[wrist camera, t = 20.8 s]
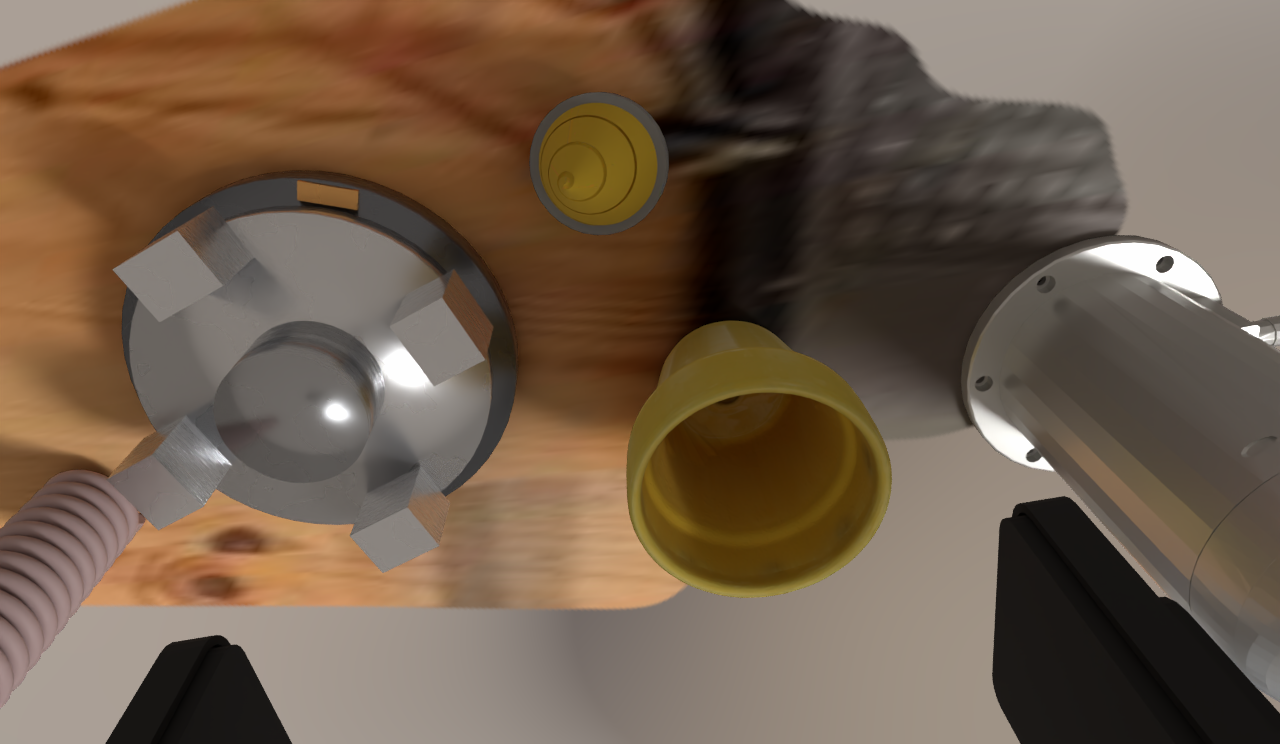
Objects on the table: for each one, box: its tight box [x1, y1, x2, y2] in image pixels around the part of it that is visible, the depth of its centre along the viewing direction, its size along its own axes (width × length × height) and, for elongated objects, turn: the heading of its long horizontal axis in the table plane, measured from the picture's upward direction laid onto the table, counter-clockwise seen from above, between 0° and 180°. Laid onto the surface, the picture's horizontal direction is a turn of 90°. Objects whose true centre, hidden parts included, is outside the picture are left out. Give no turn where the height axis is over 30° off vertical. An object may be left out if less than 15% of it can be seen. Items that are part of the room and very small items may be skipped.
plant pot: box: [627, 321, 892, 598], centre depth 37 cm, size 10×10×10 cm
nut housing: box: [122, 171, 518, 496], centre depth 38 cm, size 17×17×2 cm
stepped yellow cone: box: [529, 92, 669, 235], centre depth 31 cm, size 5×5×10 cm
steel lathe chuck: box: [106, 205, 493, 573], centre depth 35 cm, size 15×15×4 cm
